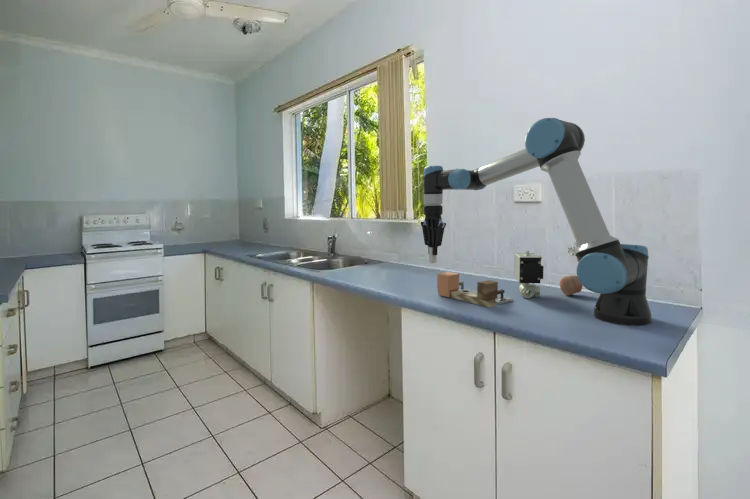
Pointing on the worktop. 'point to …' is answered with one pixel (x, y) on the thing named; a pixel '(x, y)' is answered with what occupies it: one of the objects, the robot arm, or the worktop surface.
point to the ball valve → (528, 273)
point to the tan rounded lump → (570, 285)
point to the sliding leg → (448, 283)
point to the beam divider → (480, 294)
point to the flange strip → (498, 300)
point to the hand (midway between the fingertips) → (432, 262)
